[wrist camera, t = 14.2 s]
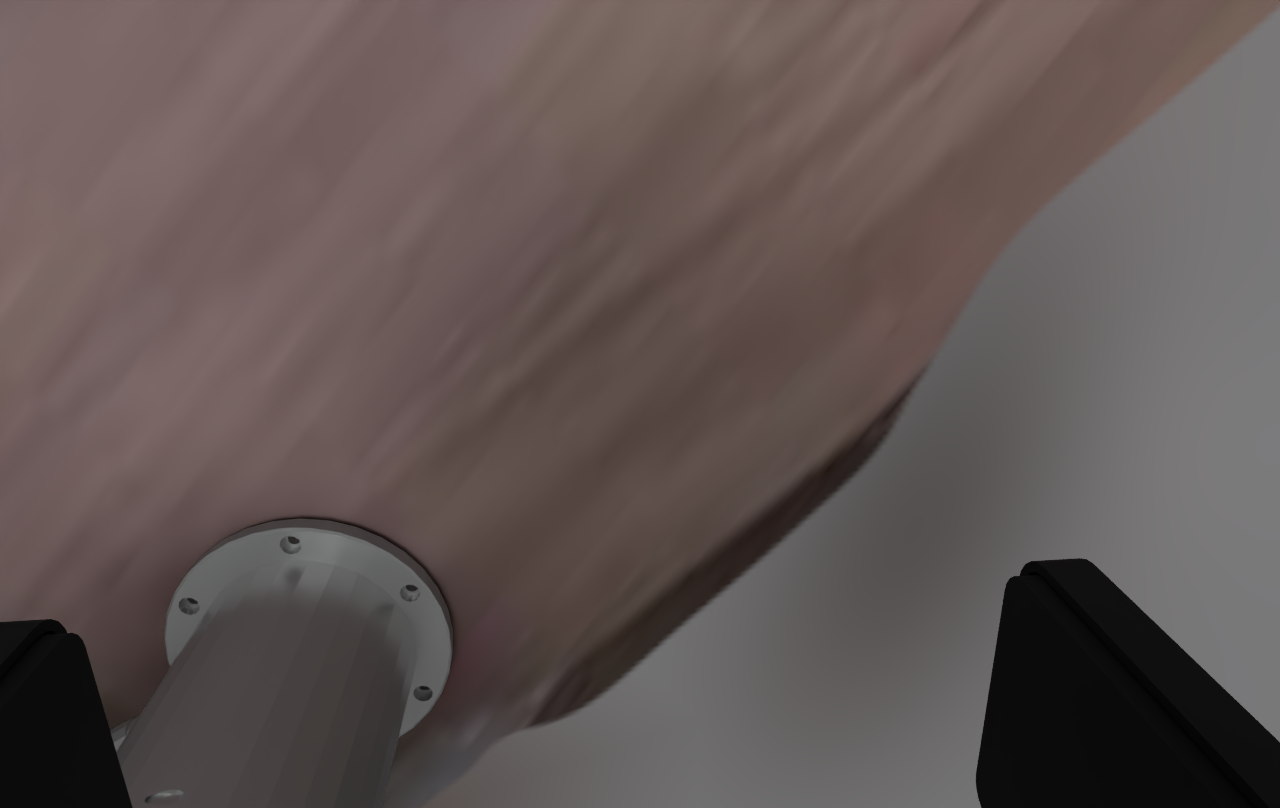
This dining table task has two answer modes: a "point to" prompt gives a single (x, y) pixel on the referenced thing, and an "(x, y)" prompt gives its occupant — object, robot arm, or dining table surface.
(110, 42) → the dining table surface
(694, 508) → the dining table surface
